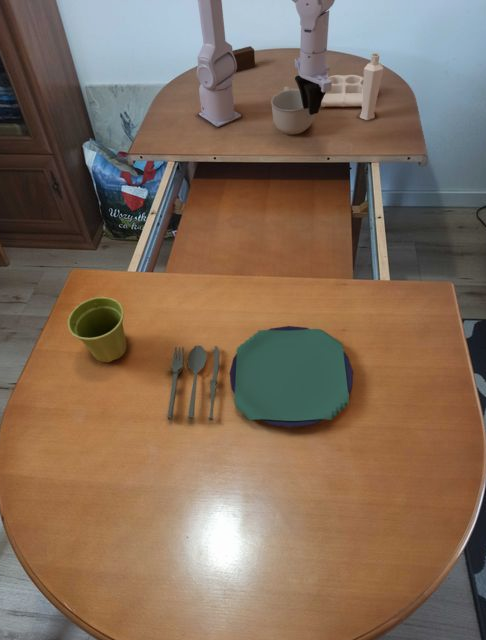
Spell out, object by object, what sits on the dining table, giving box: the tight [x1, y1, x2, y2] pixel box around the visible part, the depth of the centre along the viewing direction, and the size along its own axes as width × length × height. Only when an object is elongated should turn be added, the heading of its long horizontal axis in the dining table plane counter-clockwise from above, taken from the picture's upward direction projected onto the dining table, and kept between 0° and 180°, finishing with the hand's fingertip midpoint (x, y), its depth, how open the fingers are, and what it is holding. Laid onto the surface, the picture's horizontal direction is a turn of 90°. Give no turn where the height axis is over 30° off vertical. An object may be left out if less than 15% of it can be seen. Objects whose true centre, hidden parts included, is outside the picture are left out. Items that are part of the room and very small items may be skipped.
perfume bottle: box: [359, 52, 385, 121], centre depth 125 cm, size 5×4×15 cm
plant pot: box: [67, 296, 128, 363], centre depth 85 cm, size 9×9×9 cm
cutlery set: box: [166, 325, 354, 429], centre depth 81 cm, size 20×30×2 cm, turn 87°
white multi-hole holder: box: [320, 74, 364, 108], centre depth 137 cm, size 3×18×15 cm
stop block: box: [232, 45, 256, 73], centre depth 152 cm, size 3×10×5 cm, turn 111°
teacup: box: [270, 86, 315, 136], centre depth 128 cm, size 14×11×8 cm
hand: (310, 110), depth 118 cm, fingers open, 3 cm apart
